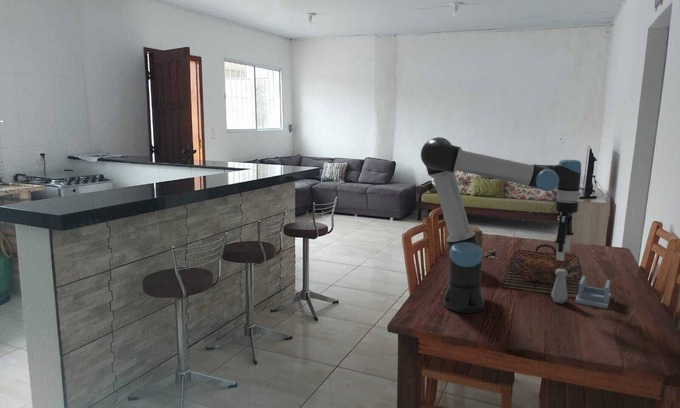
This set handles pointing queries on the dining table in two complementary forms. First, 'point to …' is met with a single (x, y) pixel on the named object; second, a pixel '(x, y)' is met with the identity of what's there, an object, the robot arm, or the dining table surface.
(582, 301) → the blue bracket with posts
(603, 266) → the dining table surface
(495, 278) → the dining table surface
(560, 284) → the salt shaker
